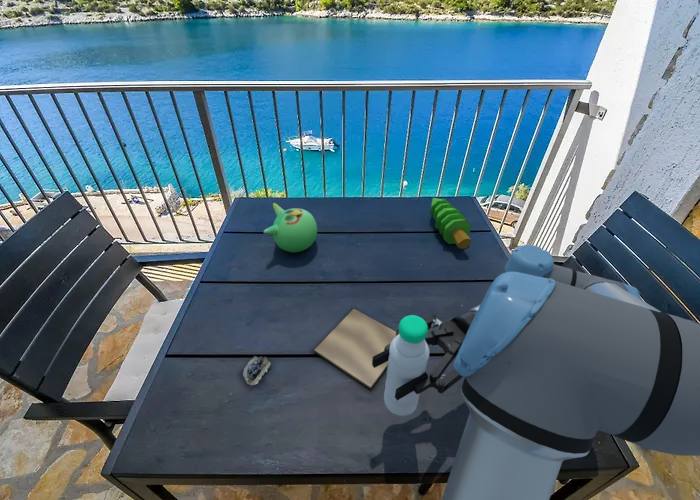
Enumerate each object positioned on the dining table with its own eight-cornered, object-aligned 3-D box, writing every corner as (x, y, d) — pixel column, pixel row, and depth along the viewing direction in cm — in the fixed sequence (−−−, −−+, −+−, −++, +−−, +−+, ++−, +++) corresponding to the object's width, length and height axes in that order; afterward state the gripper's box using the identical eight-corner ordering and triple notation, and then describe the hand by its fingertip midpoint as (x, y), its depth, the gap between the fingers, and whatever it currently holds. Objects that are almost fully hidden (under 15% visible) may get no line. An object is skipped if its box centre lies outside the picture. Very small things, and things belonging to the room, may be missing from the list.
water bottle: (411, 423, 69) (429, 348, 54) (378, 408, 72) (386, 332, 56) (421, 392, 74) (440, 315, 59) (390, 380, 77) (400, 302, 61)
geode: (274, 358, 91) (273, 354, 90) (265, 387, 85) (264, 383, 84) (249, 356, 92) (247, 352, 90) (238, 384, 85) (236, 380, 84)
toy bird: (316, 261, 122) (313, 226, 112) (267, 260, 122) (261, 226, 113) (319, 231, 136) (317, 198, 127) (276, 230, 136) (271, 198, 127)
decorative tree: (462, 227, 116) (428, 183, 138) (443, 253, 123) (414, 206, 145) (487, 234, 121) (451, 189, 143) (468, 258, 127) (436, 212, 149)
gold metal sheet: (370, 389, 84) (370, 387, 84) (314, 352, 93) (314, 349, 92) (406, 340, 96) (407, 337, 95) (353, 310, 104) (353, 308, 103)
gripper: (510, 374, 67) (416, 436, 59) (441, 308, 81) (356, 350, 72) (522, 351, 63) (421, 415, 54) (447, 285, 76) (357, 327, 67)
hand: (384, 377), depth 63 cm, fingers closed on water bottle, 7 cm apart
